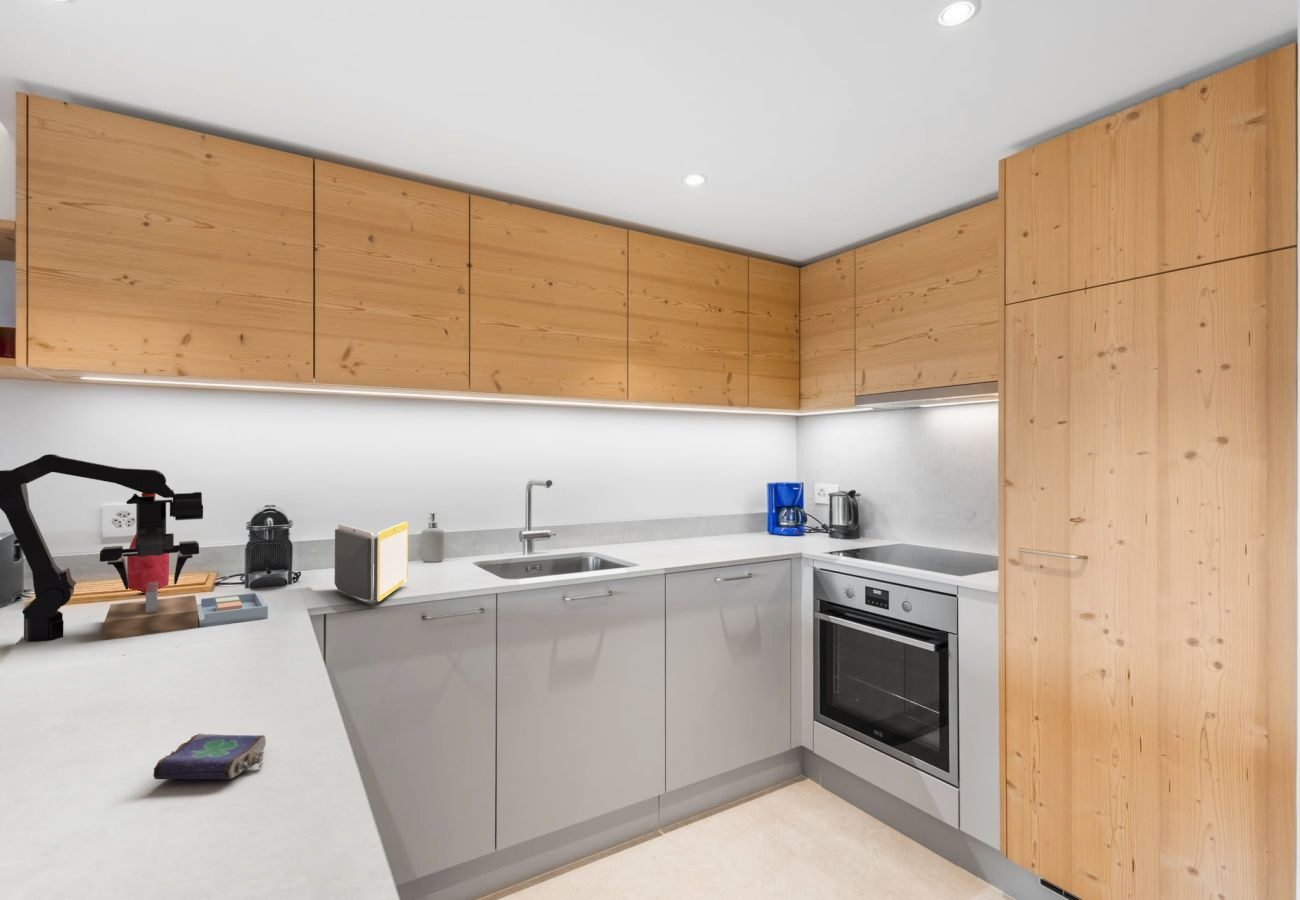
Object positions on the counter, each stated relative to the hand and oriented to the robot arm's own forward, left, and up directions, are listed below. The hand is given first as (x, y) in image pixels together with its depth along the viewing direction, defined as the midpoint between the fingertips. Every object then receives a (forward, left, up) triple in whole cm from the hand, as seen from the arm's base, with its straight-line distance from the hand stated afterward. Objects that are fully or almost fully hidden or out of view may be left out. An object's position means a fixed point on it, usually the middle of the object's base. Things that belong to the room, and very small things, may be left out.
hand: (151, 586), depth 156 cm
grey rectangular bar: (0, 0, -5) cm, 5 cm away
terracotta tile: (+14, +8, -6) cm, 17 cm away
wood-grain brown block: (0, 0, -9) cm, 9 cm away
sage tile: (+8, +14, -6) cm, 17 cm away
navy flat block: (+69, -63, -10) cm, 94 cm away
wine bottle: (-34, +31, -9) cm, 47 cm away
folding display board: (+33, +45, -9) cm, 57 cm away
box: (+11, +11, -9) cm, 19 cm away
